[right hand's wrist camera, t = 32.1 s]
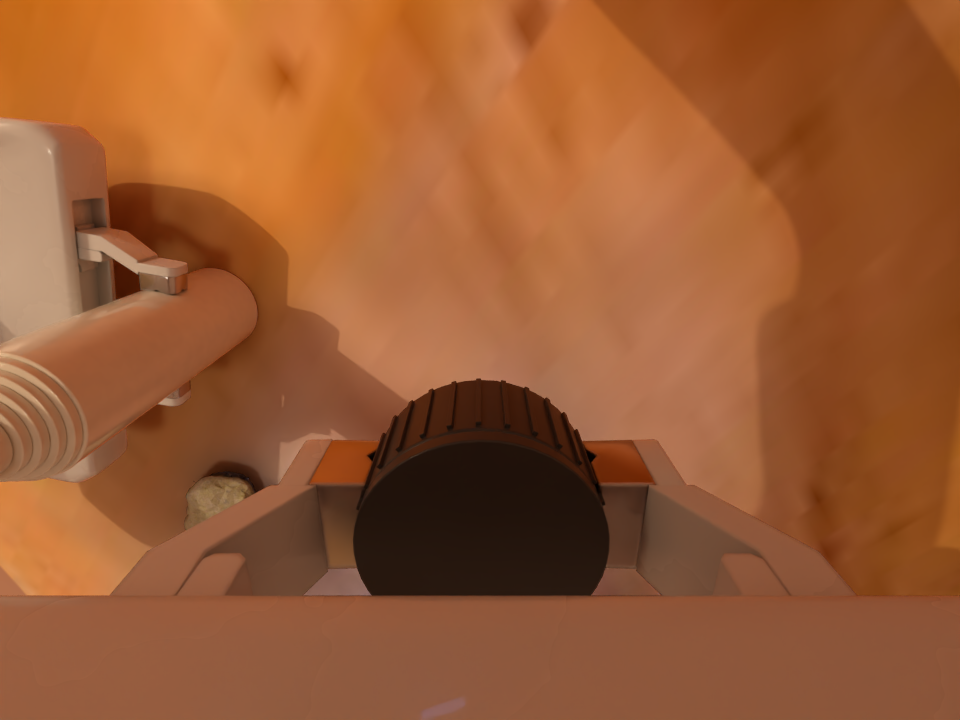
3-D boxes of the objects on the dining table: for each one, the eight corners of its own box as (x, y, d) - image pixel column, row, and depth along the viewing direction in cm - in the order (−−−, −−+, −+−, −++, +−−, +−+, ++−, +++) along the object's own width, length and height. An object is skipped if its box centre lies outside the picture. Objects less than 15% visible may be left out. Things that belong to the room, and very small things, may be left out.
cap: (359, 533, 11) (330, 623, 9) (397, 352, 9) (372, 408, 7) (550, 571, 11) (566, 666, 9) (616, 404, 10) (653, 471, 8)
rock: (214, 447, 39) (169, 553, 41) (172, 486, 33) (122, 609, 34) (345, 498, 41) (298, 597, 43) (329, 544, 35) (275, 658, 36)
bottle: (204, 250, 33) (-181, 370, 14) (273, 305, 34) (10, 485, 15) (161, 309, 34) (-243, 492, 15) (229, 360, 35) (-63, 587, 16)
